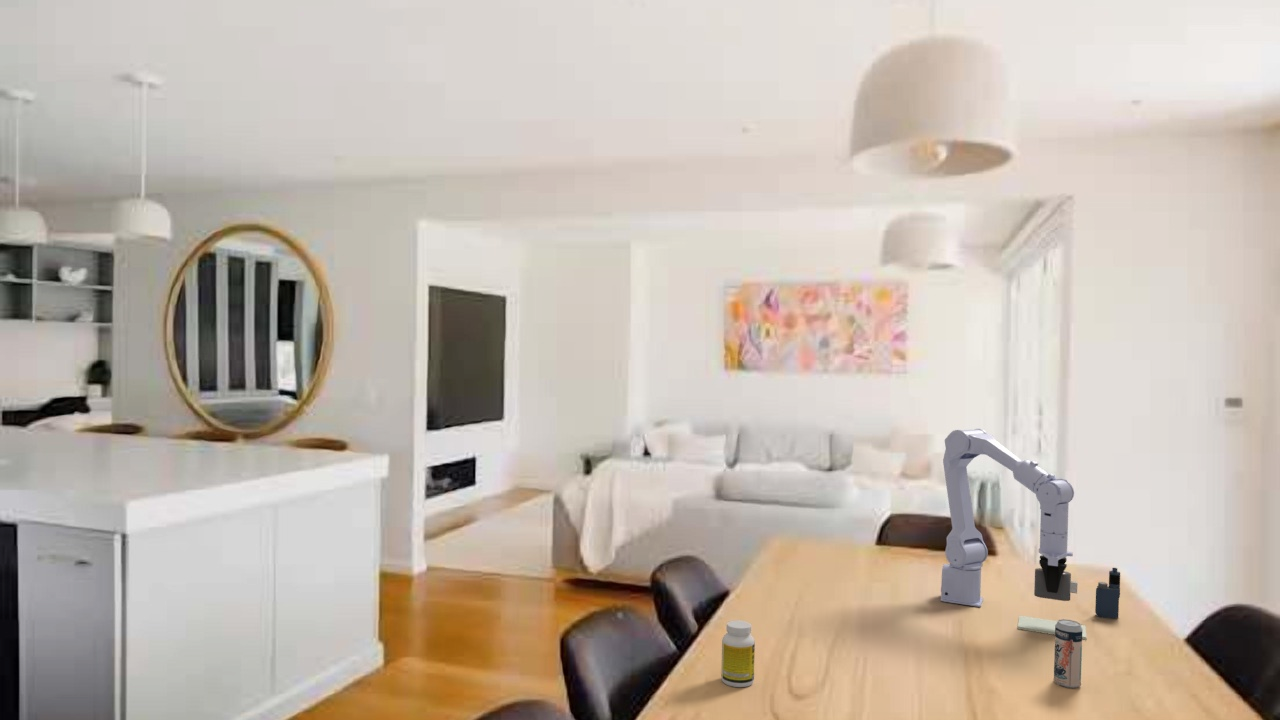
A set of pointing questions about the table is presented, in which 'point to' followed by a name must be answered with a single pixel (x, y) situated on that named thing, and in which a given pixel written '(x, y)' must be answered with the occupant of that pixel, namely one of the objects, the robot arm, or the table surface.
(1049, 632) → the board
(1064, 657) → the beer can
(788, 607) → the table surface
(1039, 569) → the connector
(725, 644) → the pill bottle
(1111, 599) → the vaping device
